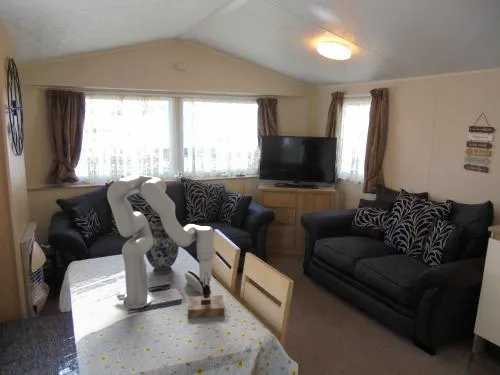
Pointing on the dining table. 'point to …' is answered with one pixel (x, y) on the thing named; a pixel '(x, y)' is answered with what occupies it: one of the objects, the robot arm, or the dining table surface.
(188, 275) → the grey half-round piece
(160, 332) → the dining table surface
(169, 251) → the decorative vase
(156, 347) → the dining table surface
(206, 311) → the block with square hole
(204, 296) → the pin
